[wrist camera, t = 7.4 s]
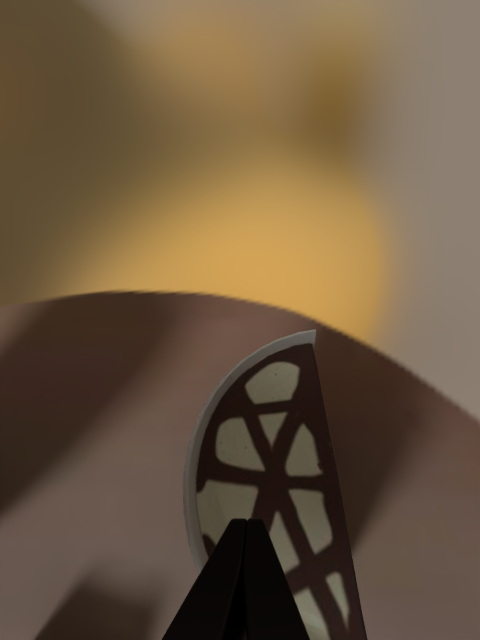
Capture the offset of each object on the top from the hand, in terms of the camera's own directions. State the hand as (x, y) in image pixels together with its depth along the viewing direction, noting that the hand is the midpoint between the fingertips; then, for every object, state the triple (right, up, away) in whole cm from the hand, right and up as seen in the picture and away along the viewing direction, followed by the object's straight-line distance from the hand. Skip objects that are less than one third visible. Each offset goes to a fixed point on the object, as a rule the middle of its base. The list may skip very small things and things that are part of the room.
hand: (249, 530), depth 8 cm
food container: (+2, -5, +11) cm, 13 cm away
